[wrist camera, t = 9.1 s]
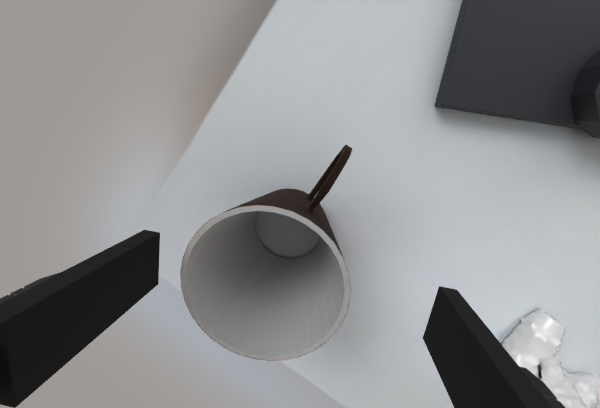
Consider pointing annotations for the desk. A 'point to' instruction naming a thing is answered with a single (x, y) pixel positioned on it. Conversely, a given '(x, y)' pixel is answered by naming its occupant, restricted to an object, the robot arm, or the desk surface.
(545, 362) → the sitting furry creature
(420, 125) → the desk surface
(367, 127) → the desk surface
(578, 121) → the scale
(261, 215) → the coffee mug
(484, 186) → the desk surface
